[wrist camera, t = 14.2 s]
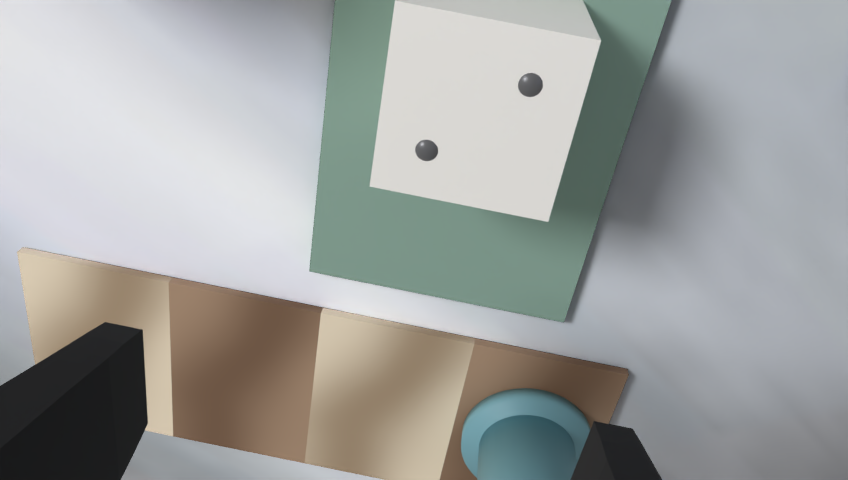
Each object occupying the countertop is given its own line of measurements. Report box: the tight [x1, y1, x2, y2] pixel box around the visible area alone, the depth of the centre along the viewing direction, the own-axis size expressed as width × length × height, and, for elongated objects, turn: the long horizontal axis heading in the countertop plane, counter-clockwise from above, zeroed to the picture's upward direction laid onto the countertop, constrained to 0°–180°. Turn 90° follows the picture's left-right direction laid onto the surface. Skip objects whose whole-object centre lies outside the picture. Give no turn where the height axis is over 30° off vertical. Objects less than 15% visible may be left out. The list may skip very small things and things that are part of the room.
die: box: [369, 0, 601, 222], centre depth 16 cm, size 4×4×4 cm
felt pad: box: [309, 0, 671, 322], centre depth 19 cm, size 8×10×1 cm
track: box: [17, 247, 629, 480], centre depth 24 cm, size 20×7×1 cm, turn 81°
